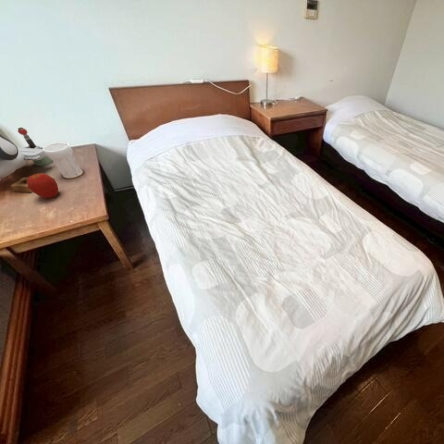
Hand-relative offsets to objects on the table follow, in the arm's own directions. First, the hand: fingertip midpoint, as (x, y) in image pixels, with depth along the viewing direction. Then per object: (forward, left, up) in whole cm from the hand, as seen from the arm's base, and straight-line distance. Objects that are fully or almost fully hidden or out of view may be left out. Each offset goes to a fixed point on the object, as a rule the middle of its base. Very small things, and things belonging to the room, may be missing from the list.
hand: (35, 146), depth 143 cm
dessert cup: (0, -1, -10) cm, 10 cm away
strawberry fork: (0, -1, -9) cm, 9 cm away
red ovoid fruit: (+34, -23, -10) cm, 42 cm away
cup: (+26, -4, -10) cm, 28 cm away
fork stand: (+18, -22, -10) cm, 30 cm away
